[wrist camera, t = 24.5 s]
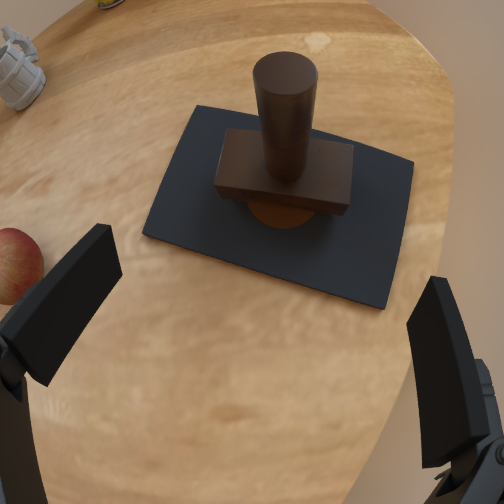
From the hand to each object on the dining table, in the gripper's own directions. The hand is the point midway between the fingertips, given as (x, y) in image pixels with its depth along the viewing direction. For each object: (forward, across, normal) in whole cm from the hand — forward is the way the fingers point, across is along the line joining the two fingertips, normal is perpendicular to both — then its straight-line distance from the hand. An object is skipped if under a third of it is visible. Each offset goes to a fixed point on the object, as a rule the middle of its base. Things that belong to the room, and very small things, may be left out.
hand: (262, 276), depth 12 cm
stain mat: (+16, 0, -4) cm, 16 cm away
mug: (+27, -42, +8) cm, 50 cm away
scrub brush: (+16, 0, -3) cm, 16 cm away
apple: (+7, -26, -12) cm, 30 cm away
